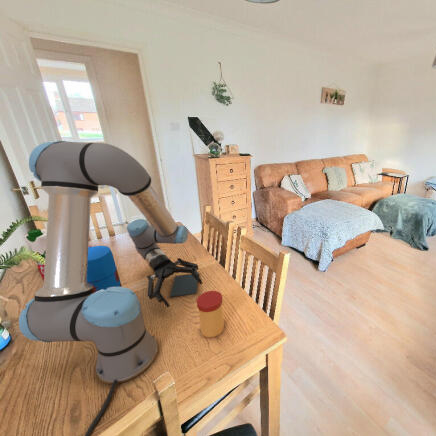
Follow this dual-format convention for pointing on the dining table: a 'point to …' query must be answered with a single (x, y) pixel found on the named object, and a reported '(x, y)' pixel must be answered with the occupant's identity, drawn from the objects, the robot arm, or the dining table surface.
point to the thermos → (102, 269)
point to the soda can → (41, 269)
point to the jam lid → (209, 301)
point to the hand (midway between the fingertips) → (185, 293)
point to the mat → (184, 285)
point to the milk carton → (37, 240)
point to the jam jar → (212, 322)
